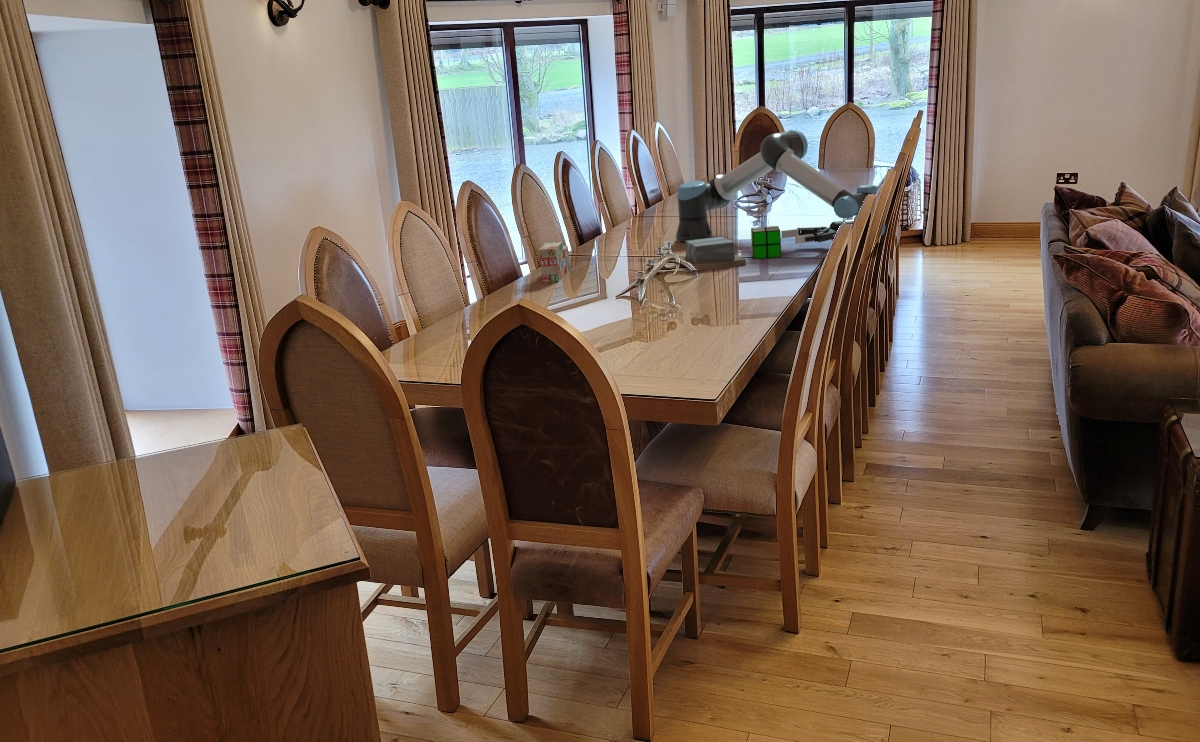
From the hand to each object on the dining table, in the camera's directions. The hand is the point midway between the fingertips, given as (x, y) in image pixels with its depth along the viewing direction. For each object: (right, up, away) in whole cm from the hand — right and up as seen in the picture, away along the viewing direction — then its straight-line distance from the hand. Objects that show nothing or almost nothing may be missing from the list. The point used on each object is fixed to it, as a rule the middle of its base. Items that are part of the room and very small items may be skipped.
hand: (788, 237), depth 342 cm
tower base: (-29, -10, -5) cm, 31 cm away
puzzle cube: (-8, -7, +1) cm, 11 cm away
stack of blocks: (-85, -15, -3) cm, 86 cm away
